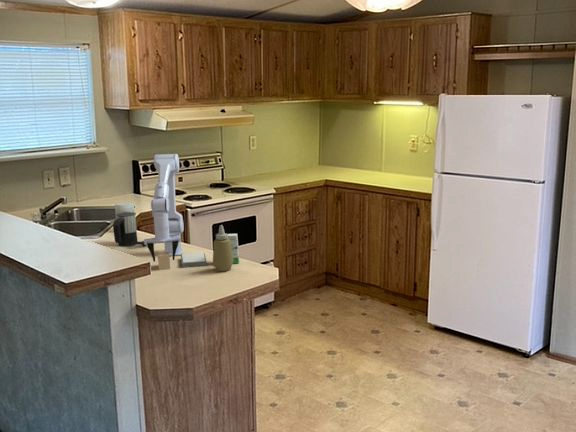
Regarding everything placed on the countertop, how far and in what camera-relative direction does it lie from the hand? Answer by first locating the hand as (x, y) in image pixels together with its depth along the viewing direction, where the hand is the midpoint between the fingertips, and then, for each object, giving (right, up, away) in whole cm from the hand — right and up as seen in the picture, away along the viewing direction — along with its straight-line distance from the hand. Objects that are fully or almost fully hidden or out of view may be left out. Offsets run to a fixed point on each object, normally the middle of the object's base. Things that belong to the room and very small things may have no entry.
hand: (164, 260), depth 255 cm
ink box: (+26, -1, +4) cm, 26 cm away
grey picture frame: (+11, -1, +7) cm, 13 cm away
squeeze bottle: (+25, -4, -6) cm, 26 cm away
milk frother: (-22, +4, +39) cm, 45 cm away
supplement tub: (-33, +10, +70) cm, 78 cm away
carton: (0, -3, +1) cm, 3 cm away
